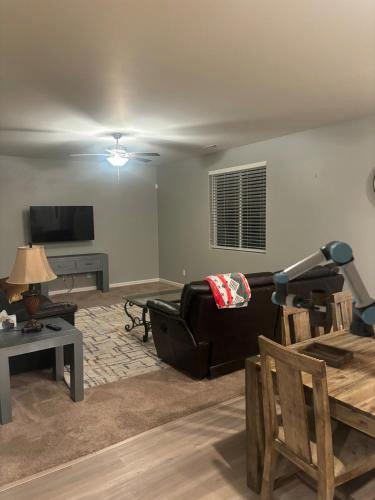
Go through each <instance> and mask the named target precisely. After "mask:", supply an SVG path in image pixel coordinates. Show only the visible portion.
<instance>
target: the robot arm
mask: <svg viewBox="0 0 375 500" xmlns="http://www.w3.org/2000/svg"><path fill="white" fill-rule="evenodd" d="M331 260H332V262H333V264H334V266H335V268H338V269H339V271H340V273H341V274H342V276H343V278H344V280H345V283H346V284H347V286H348V289H349V291H350V292H351V293H350V294H351V295H352V297H353V298H352V300H351V322H350V324H349V326H348V332H349V333H350V334H352V335H355V336H360V337H371V336H374V335H375V328H374V326H375V299H374V298H373V297H371V296H370V294H369V292H368V290H367V288H366V285H365V284H364V282H363V280H362V278H361V275H360V274H359V271H358V269H357V267H356V266H355V263H354V262H355V256H354V254H353V249H352V247H351V245H350V244H348V243H346V242H344V241H339V240H332V241H329V242H328V243H326V244H324V245H323V246H322V247H320V248H318V249H317V251H316V252H314V253H313V254H310V255H309V256H307V257H305V258H304V259H302V260H300V261H298V262H296V263H295V264H293V265H291V266H289V267H287V268H286V269H283V270H281V271H280V272H276V273H274V275H273V277H272V281H273V283H274V285H275V291H274V292H273V293H272V294H271V295H272V296H271V301H272V303H273V304H276V305H280V306H286V307H290V308H291V309H292V308H295V309H304V310H307V311H310V310H312V311H314V309H315V310H317V311H322V312H326V307H323V306H318V305H315V306H314V305H312V304H310V298H309V299H305V298H304V297H303V296H302V295H296V294H291V293H289V281H292V280H293V279H295V278H296V277H299V276H301V275H302V274H304V273H306V272H307V271H309V270H311V269H313V268H315V267H317V266H319V265H320V264H322V263H327V262H329V261H331ZM331 306H332V309H334V310H335V309H336V303H333V302H331Z"/></svg>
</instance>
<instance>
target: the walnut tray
mask: <svg viewBox="0 0 375 500" xmlns="http://www.w3.org/2000/svg"><path fill="white" fill-rule="evenodd" d="M298 353H300V354H304V355H307V356H310V357H313V358H316V359H319V360H324V361H325V362H326V366H329V367H331V368H332V367H333V368H337V369H338V368H340V367H341V366H343V365H344V364H346V363H347V362H349V361H351V360H352V359H354V351H353V350H348V349H345V348H340V347H336V346H333V345H330V344H325V343H321V342H317V341H314V342H313V341H312V343H309V344H308V345H305V346H304V347H302V348H300V349H298V350H297V354H298Z"/></svg>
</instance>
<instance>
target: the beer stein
mask: <svg viewBox="0 0 375 500" xmlns="http://www.w3.org/2000/svg"><path fill="white" fill-rule="evenodd" d="M329 295H330V294H329V291H328V290H327V289H323V288H322V289H321V288H314V289H311V290H310V292H309V296H310V298H309V299H310V304H312V305H314V306H315V305H318V306H323V307H326V312H322V311H317V310H315V309H314V311H312V310H308V312H309V325H311V326H312V327H315V328H325V327H329V325H330V323H331V320H330V318H331V314H332V309H333V308H332V306H331V303H332V302H331V297H329Z"/></svg>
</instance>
